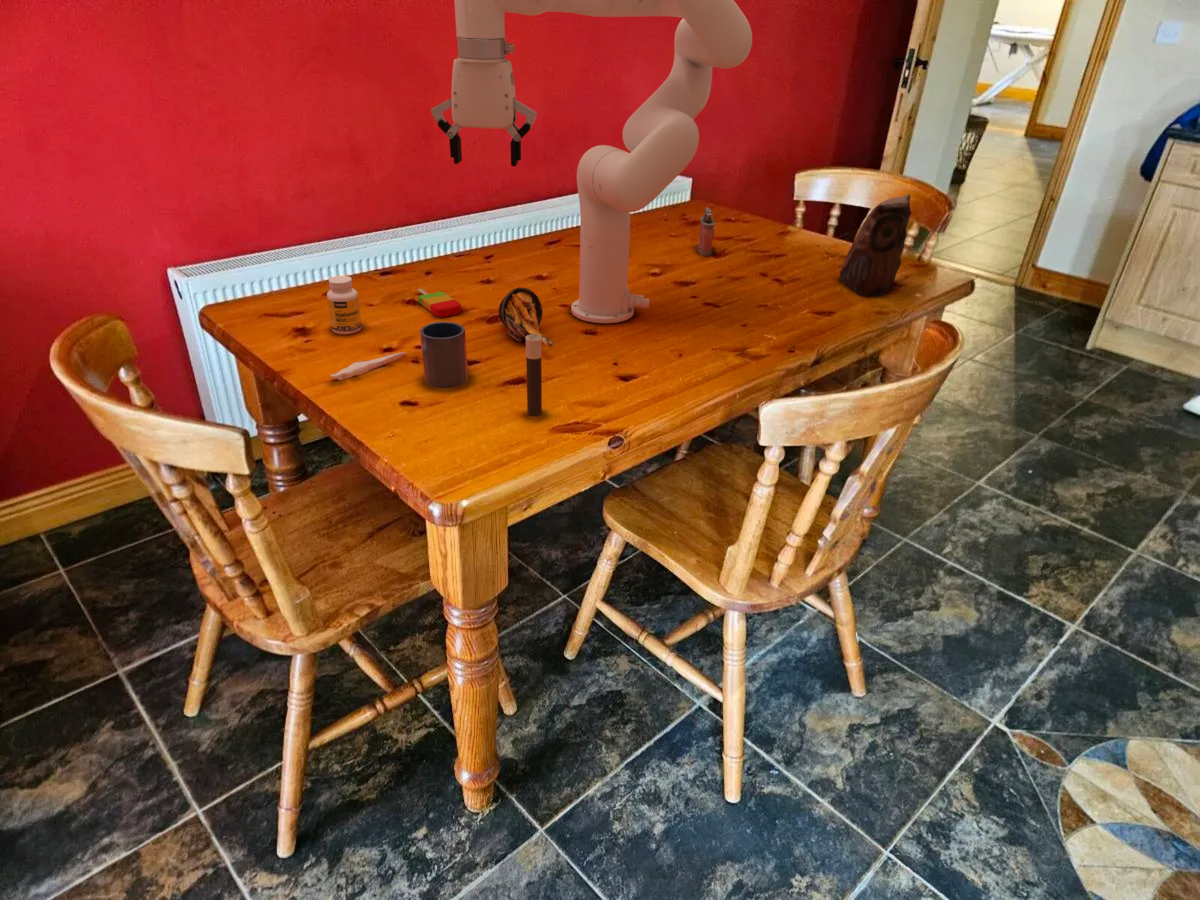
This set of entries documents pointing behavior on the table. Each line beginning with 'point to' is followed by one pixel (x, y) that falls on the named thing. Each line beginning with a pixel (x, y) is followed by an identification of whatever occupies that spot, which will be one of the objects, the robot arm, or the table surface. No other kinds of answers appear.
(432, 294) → the popsicle
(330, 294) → the supplement bottle
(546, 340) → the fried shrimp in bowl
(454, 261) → the table surface
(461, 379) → the pen cup
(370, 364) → the pale pink tapered rod
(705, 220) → the lighter
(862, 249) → the owl
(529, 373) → the marker pen
